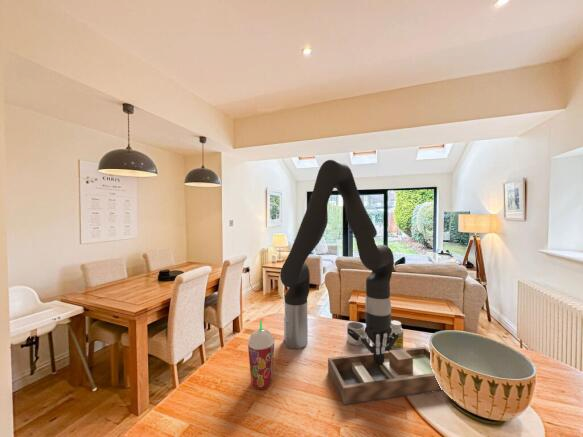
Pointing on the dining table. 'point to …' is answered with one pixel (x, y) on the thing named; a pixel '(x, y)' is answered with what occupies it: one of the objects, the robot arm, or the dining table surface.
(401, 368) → the walnut block
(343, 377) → the wooden compartment tray
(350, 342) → the mug
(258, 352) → the smoothie
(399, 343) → the supplement bottle
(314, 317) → the dining table surface
